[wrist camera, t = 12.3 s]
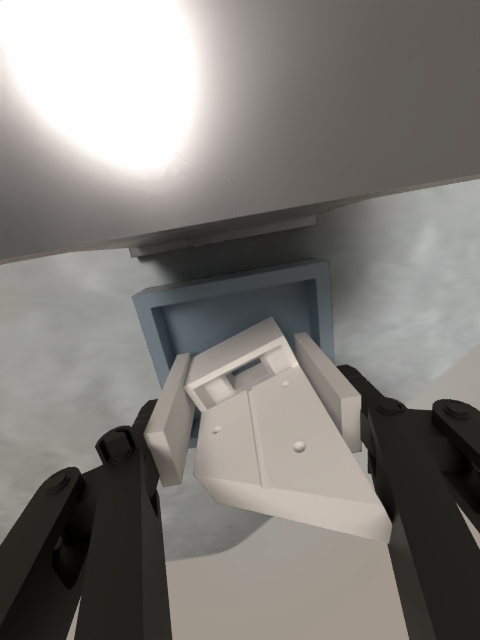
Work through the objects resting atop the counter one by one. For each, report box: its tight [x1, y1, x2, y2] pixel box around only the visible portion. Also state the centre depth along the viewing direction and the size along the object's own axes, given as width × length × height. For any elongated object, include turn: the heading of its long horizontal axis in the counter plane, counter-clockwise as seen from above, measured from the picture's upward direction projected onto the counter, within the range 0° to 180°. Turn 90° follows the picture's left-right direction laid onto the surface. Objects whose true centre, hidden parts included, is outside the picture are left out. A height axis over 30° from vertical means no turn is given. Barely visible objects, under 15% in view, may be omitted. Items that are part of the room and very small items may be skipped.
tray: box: [132, 258, 335, 449], centre depth 16 cm, size 11×11×2 cm
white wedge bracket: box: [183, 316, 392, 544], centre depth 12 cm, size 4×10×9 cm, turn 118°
